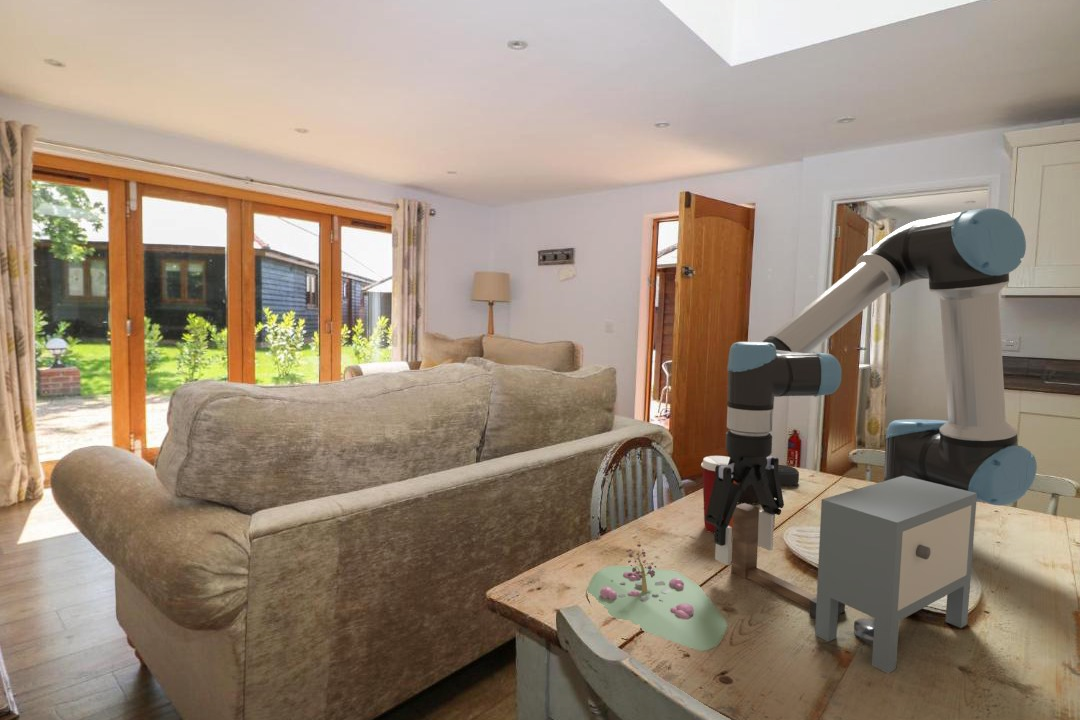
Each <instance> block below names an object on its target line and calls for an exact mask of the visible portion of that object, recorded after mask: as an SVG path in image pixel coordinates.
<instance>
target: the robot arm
mask: <svg viewBox="0 0 1080 720" xmlns="http://www.w3.org/2000/svg"><path fill="white" fill-rule="evenodd" d="M1026 240H1027V239H1026V235H1025V233H1024V230H1023V228H1022V226H1021V224H1020V223H1019V222H1018V221H1017V219H1016V218H1015V217H1012V216H1011V214H1009V212H1006V211H1005V210H1003V209H1002V210H1001V209H998V208H994V207H993V208H992V207H991V208H989V207H988V208H980V209H979V208H977V209H968V210H964V211H960V212H954V213H950V214H949V213H948V214H944V215H939V216H938V215H937V216H934V217H927V218H921V219H917V220H914V221H911V222H909V223H907V224H905V225H902V226H901V227H899V228H897V229H896V230H894V231H892V233H890V234H888V235H887V236H885V237H883V238H881V240H879V241H878V242H877V243H876V244H874V245H873V246H871V247H870V248H869V249H867V250H866V251H865V252H864V253H863V254H861V255H860V256H859V257H858V258H857V260H856V263H855V266H854V267H853V268H852V269H851V270H850V271H848V272H847V273H845V275H843V276H842V277H841V278H840V279H838V280H837V281H836V282H835V283H833V284H832V285H831V286H830V287H828V288H827V289H826V290H824V291H823V292H822V293H820V295H818V296H816V298H814V300H812V301H810V303H808V304H807V305H806V306H805V307H803V308H802V309H801V310H800V311H798V312H797V313H796V314H795V315H793V316H792V317H791V318H790V319H788V320H787V321H786V322H785V323H783V324H782V325H781V326H780V327H778V328H777V329H776V330H775V331H773V332H772V333H771V334H769V335H768V337H766V338H765V339H764V340H762V341H737V342H734V343H732V345H731V346H730V348H729V354H728V362H727V367H726V368H727V369H726V370H727V396H726V397H727V400H726V401H727V406H726V407H727V408H726V409H727V410H726V412H727V414H726V423H727V425H726V428H727V429H728V430H727V431H726V432H725V451H726V452H727V454H728V453H729V455H730V460H729V463H728V465H725V466H721V465H716V467H715V481H714V485H713V489H712V493H711V497H710V501H709V505H708V509H707V514H706V518H705V521H706V522H708V523H711V524H713V525H714V526H715V531H714V533H713V535H714V537H713V539H714V540H713V541H714V544H715V548H714V549H715V550H714V551H715V552H714V560H716V561H718V562H719V563H722V564H724V565H726V566H730V565H731V562H732V527H730V526H728V525H729V522H730V520H731V518H732V515H733V513H734V510H735V508H736V506H737V505H738V504H739V503H738V501H739V498H740V496H741V493H742V492H744V491H745V490H746V488H747V486H749V485H751V484H752V486H753V488H754V490H755V493H756V495H757V497H758V500H759V502H760V503H759V504H760V507H761V509H762V510H759V523H758V547H761V548H762V549H765V550H767V551H770V552H771V551H773V549H774V548H773V547H774V530H775V518H776V517H775V516H776V515H778V516H780V515H781V513H782V509H783V508H784V507H785V506H784V505H785V504H784V502H785V501H784V498H783V490H782V486H781V484H780V478H779V473H778V465H780V464H779V463H780V462H779V458H778V457H775V456H771V455H772V453H773V451H772V450H773V449H772V448H773V435H772V433H771V432H773V429H774V405H775V404H774V403H775V397H776V398H780V397H810V396H811V397H815V398H816V397H818V396H828V395H831V394H833V393H835V392H836V391H837V390H838V388H839V387H840V385H841V382H842V367H841V363H840V361H838V358H836V357H835V356H834V355H833V354H830V353H827V352H823V353H822V352H818V351H817V352H816V351H815V349H816V348H818V347H819V346H820V345H821V344H823V343H824V342H825V341H826V340H827V339H829V338H830V337H831V336H833V335H834V334H835V333H836V332H838V331H839V330H840V329H841V328H842V327H844V326H845V325H847V323H848V322H850V321H852V319H853V318H855V317H856V316H858V315H859V314H860V313H861V312H862V311H864V310H865V309H866V308H867V307H869V306H870V305H871V304H872V303H874V302H875V301H876V300H878V299H879V298H880V297H881V296H882V295H883V294H892V293H894V292H896V291H897V290H898V289H899V288H900V287H902V286H904V285H905V284H908V283H911V282H913V281H917V280H922V279H923V280H924V279H928V289H929V291H930V292H931V293H932V294H933V295H935V296H937V297H938V298H939V302H940V303H939V305H940V319H941V333H942V334H941V335H942V347H943V361H944V363H943V364H944V375H945V376H944V377H945V379H944V380H945V390H946V392H945V393H946V405H947V406H946V407H947V418H948V420H943V419H923V418H922V419H917V418H916V419H914V418H913V419H912V418H911V419H910V418H909V419H897V420H896V419H894V420H892V421H890V423H888V425H887V431H886V436H885V447H884V448H885V449H884V451H885V452H884V473H883V475H884V476H883V481H887V480H890V479H894V478H897V477H900V476H907V477H911V478H915V479H920V480H924V481H928V482H932V483H936V484H941V485H945V486H949V487H953V488H957V489H962V490H966V491H970V492H974V493H977V500H976V502H980V503H986V504H988V505H989V504H990V505H992V506H997V507H998V506H999V507H1000V506H1007V505H1011V504H1013V503H1015V502H1017V501H1019V499H1021V498H1022V497H1023V496H1025V495H1026V493H1027V492H1028V491H1029V490H1030V489H1031V487H1032V485H1033V484H1034V481H1035V479H1036V475H1037V469H1038V466H1037V459H1036V457H1035V455H1034V454H1033V453H1032V452H1031V451H1030V450H1029V449H1027V448H1026V447H1024V446H1022V445H1019V444H1018V443H1019V442H1018V441H1019V440H1018V439H1019V438H1018V431H1017V429H1016V427H1014V426H1013V425H1011V424H1010V423H1008V421H1007V418H1006V403H1005V402H1006V401H1005V384H1004V365H1003V350H1002V349H1003V347H1002V346H1003V345H1002V333H1001V332H1002V331H1001V312H1000V310H1001V308H1000V292H1001V291H1002V290H1003V289H1004V288H1005V287H1006V286H1007V285H1008V284H1009V283H1010V275H1009V274H1010V273H1011V272H1013V271H1014V270H1016V269H1017V268H1018V267H1019V266H1020V265H1021V263H1022V260H1021V259H1023V258H1024V256H1025V254H1026V249H1027V245H1026V244H1027V243H1026V242H1027V241H1026ZM729 429H730V430H729ZM733 481H735V482H736V483H737V484H735V483H733ZM738 484H740V485H738ZM722 518H723V519H722Z"/></svg>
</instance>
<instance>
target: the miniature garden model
mask: <svg viewBox="0 0 1080 720" xmlns="http://www.w3.org/2000/svg"><path fill="white" fill-rule="evenodd" d="M636 546H637V547H638V548H640V547H641V546H642V545H641V544H640V543H639V544H637V545H636ZM641 550H642V552H641V553H640V551H638V552H637V553H636V556H637V558H636V557H635V556H634V552H633V549H631V548H630V549H627V550H625V552H627V553H630V554H628V557H629V558H634V561H632V560H631V559H630V560H629V559H628V561H627V563H628V564H629V563H631V562H632V563H634V564H635V565H633V564H630V565H610V566H607V567H603V568H602V569H600V570H598V571H596V572H595V573H594V574H593V575H592V577H591V580H590V582H589V584H588V586H587V589H586V592H587V591H588V593H590V594H592V596H594V597H595V598H596V600H598V602H599V603H601V604H603V605H605V606H604V608H606V609H607V610H608V613H609V614H610V615H611V616H613V617H615V618H617V619H623V620H630V621H632V623H633V624H635V625H638V624H640V627H641V628H642V630H641V631H643V632H645V633H648V634H650V635H652V636H653V635H654V636H656V637H659V638H661V639H665V640H667V641H670V642H673V643H676V644H679V645H681V646H684V647H687V648H691V649H694V650H695V651H699V652H706V651H710V650H713V649H715V648H716V647H718V646H719V644H720V643H721V641H722V640H723V638H724V636H725V634H726V632H727V628H728V621H727V620H726V618H725V617H724V615H722V613H721V612H720V611H719V609H718V608H717V607H716V606H715V604H714V603H713V602H712V599H710V597H708V595H707V594H706V593H705V591H704V590H703V589H702V587H701V586H700V585H699V584H697V583H696V582H694V581H693V580H692V579H691V578H688V577H687V575H686V576H685V575H684V574H683V573H681V572H678V571H676V570H670V569H661V568H657V566H656V565H654V563H653V562H650V563H648V562H647V561H646V559H644V560H643V561H642V562H641V558H640V557H641V556H642V557H643V558H646V556H647V555H646V554H647V552H645V550H644V549H641ZM637 560H638V561H637ZM652 566H654V568H653V567H652Z"/></svg>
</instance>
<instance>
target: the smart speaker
mask: <svg viewBox="0 0 1080 720" xmlns="http://www.w3.org/2000/svg"><path fill="white" fill-rule="evenodd" d="M778 473H779V478H780V484H781V487H794V486H796V485H798V484H799V481H800V479H799V478H800V472H799V469H797V468H795V467H793V466H790V465H785V464H778Z"/></svg>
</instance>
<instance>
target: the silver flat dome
mask: <svg viewBox="0 0 1080 720" xmlns="http://www.w3.org/2000/svg"><path fill="white" fill-rule="evenodd" d="M874 621H875V619H874V618H873V619H872V618H866V617H864V618H858V619H855V620H854V622H853V623H854V624H853V634H854V635H855V637H856V638H858V639H859V640H860V641H862V642H864V643H866V644H869V645H871V646H873V638H874Z"/></svg>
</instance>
